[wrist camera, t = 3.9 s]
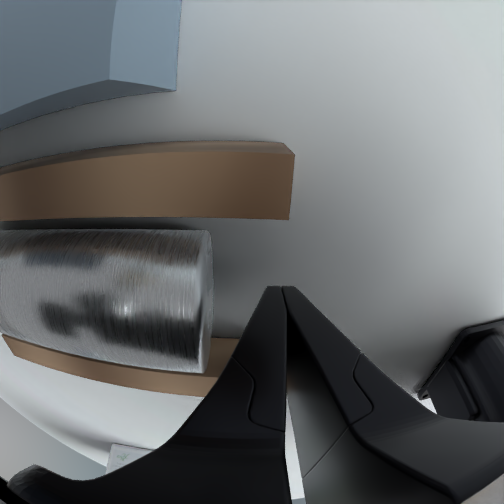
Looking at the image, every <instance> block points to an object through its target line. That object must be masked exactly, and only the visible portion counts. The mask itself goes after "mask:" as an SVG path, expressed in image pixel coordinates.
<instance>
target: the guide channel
mask: <svg viewBox="0 0 504 504" xmlns="http://www.w3.org/2000/svg"><path fill="white" fill-rule="evenodd" d="M294 158H295V154H294V153H293V152H292V151H291V150H290V149H289V148H288V147H287V146H286V145H285V144H284V143H274V142H253V141H177V142H157V143H143V144H131V145H121V146H112V147H103V148H95V149H88V150H81V151H75V152H69V153H63V154H58V155H52V156H47V157H42V158H37V159H33V160H28V161H24V162H20V163H16V164H12V165H8V166H4V167H1V168H0V221H14V220H34V219H58V218H95V217H207V218H247V219H275V220H289V213H290V203H291V192H292V181H293V170H294ZM2 337H3V338H4V340H5V342H6V343H7V345H8V346H9V348H10V349H11V351H12V353H13V354H14V355H15V356H17V357H20V358H22V359H25V360H28V361H31V362H34V363H36V364H39V365H42V366H45V367H49V368H52V369H55V370H58V371H62V372H65V373H69V374H72V375H76V376H80V377H83V378H87V379H92V380H96V381H100V382H105V383H109V384H114V385H119V386H124V387H130V388H135V389H141V390H148V391H154V392H162V393H169V394H178V395H188V396H199V397H205V396H206V395H207V394H208V392H209V391H210V389H211V388H212V387H213V385H214V384H215V382H216V381H217V379H218V378H219V376H220V374H221V373H222V371H223V369H224V368H225V366H226V364H227V362H228V360H229V358H230V357H231V355H232V353H233V351H234V349H235V347H236V345H237V343H238V341H239V340H240V339H233V338H211V346H210V354H209V360H208V364H207V368H206V370H205V372H204V373H191V372H180V371H170V370H161V369H153V368H146V367H139V366H132V365H126V364H120V363H114V362H109V361H103V360H98V359H93V358H89V357H84V356H80V355H75V354H71V353H67V352H63V351H59V350H55V349H51V348H48V347H44V346H41V345H37V344H34V343H31V342H27V341H24V340H21V339H18V338H15V337H12V336H9V335H6V334H4V333H3V334H2Z"/></svg>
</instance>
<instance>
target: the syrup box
mask: <svg viewBox="0 0 504 504" xmlns="http://www.w3.org/2000/svg"><path fill="white" fill-rule="evenodd" d="M152 451H153V450H148V449H142V448H136V447H130V446H125V445H119V444H114V443H113V444H112V446H111V451H110V455H109V460H108V464H107V469H106V473H105V475H106V474H108V473H110V472H112V471H114V470H116V469H119V468H121V467H123V466H125V465H127V464H129V463H131V462H133V461H135V460H137V459H139V458H141V457H142V456H144V455H146V454H148V453H150V452H152Z"/></svg>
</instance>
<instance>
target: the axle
mask: <svg viewBox="0 0 504 504" xmlns="http://www.w3.org/2000/svg"><path fill="white" fill-rule="evenodd" d="M213 297H214V282H213V255H212V241H211V236H210V233H209V231H206V230H151V229H41V230H0V332H1V333H4V334H6V335H9V336H12V337H15V338H18V339H21V340H24V341H27V342H31V343H34V344H37V345H41V346H44V347H48V348H51V349H55V350H59V351H63V352H67V353H71V354H75V355H80V356H84V357H89V358H93V359H98V360H103V361H109V362H114V363H120V364H126V365H132V366H139V367H146V368H153V369H161V370H170V371H180V372H191V373H204V372H205V370H206V368H207V364H208V360H209V354H210V346H211V336H212V322H213Z"/></svg>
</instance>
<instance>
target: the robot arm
mask: <svg viewBox="0 0 504 504" xmlns="http://www.w3.org/2000/svg"><path fill="white" fill-rule="evenodd" d="M286 394H287V397H288V403H289V408H290V414H291V419H292V425H293V431H294V436H295V442H296V448H297V453H298V459H299V465H300V470H301V476H302V482H303V488H304V494H305V500H306V504H504V320H502V321H498V322H494V323H490V324H486V325H481V326H477V327H472V328H467V329H465V330H463V331H462V332H461V333H460V334H459V336H458V337H457V339H456V340H455V342H454V343H453V345H452V347H451V348H450V350H449V351H448V353H447V354H446V356H445V357H444V359H443V360H442V362H441V363H440V365H439V366H438V367H437V369H436V370H435V372H434V373H433V374H432V376H431V377H430V378H429V380H428V381H427V382H426V384H425V385H424V386H423V387H422V389H421V390H420V391H419V393H418V394H417V396H418V398H419V400H424V399H428V398H431V400H432V403H433V405H434V407H435V410H436V412H437V414H435V413H434V412H432V411H430V410H429V409H427V408H426V407H425V406H423V405H422V404H421V403H420V402H418V401H417V400H416V399H415V398H413V397H412V396H411V395H409V394H408V393H407V392H406V391H404V390H403V389H402V388H401V387H399V386H398V385H397V384H396V383H394V382H393V381H392V380H391V379H390V378H389V377H387V376H386V375H385V374H384V373H383V372H382V371H380V370H379V369H378V368H377V367H376V366H375V365H374V364H373V363H372V362H371V361H370V360H369V359H368V358H367V357H366V356H365V355H364V354H363V353H361V351H360V350H359V349H358V348H357V347H356V346H355V345H354V344H353V343H352V342H351V341H350V340H349V339H348V338H347V337H346V336H345V335H344V334H343V333H342V332H340V331H339V330H338V329H337V328H336V327H335V326H334V325H333V324H332V323H331V322H330V321H329V320H328V319H327V318H326V317H325V316H324V315H323V314H322V313H321V312H320V311H319V310H318V309H317V308H316V307H315V306H314V305H313V304H312V303H311V302H310V301H309V300H308V299H307V298H306V297H305V296H304V295H303V294H302V293H301V292H300V291H299V290H298V289H297V288H296V287H294V286H282V287H280V286H267V287H266V289H265V291H264V293H263V295H262V297H261V299H260V301H259V303H258V305H257V307H256V309H255V311H254V313H253V314H252V316H251V318H250V320H249V322H248V324H247V326H246V328H245V330H244V332H243V334H242V336H241V338H240V340H239V341H238V343H237V345H236V347H235V349H234V351H233V353H232V355H231V357H230V358H229V360H228V362H227V364H226V366H225V368H224V369H223V371H222V373H221V374H220V376H219V378H218V379H217V381H216V382H215V384H214V385H213V387H212V388H211V389H210V391H209V392H208V394H207V395H206V396H205V397H204V399H203V400H202V401H201V403H200V404H199V405H198V406H197V408H196V409H195V410H194V411H193V413H192V414H191V415H190V416H189V417H188V419H187V420H186V421H185V422H184V424H183V425H182V426H181V427H180V428H179V430H178V431H177V432H176V433H175V434H174V435H173V436H172V437H171V438H170V439H169V440H168V441H167V442H166V443H165V444H163V445H162V446H160V447H159V448H157V449H155V450H154V451H152V452H150V453H148V454H146V455H144V456H142V457H141V458H139V459H137V460H135V461H133V462H131V463H129V464H127V465H125V466H123V467H121V468H119V469H116V470H114V471H112V472H110V473H108V474H106V475H103V476H101V477H98V478H95V479H91V480H84V481H82V480H72V479H68V478H65V477H63V476H61V475H59V474H56V473H54V472H52V471H50V470H47V469H46V468H43V467H41V466H38V465H32V466H30V467H28V468H26V469H24V470H22V471H20V472H19V473H17V474H16V475H14V476H13V477H12V478H11V479H10V481H9V482H8V481H7V480H5V479H4V478H2V477H1V476H0V504H292V500H291V493H290V486H289V479H288V472H287V465H286V458H285V427H286Z"/></svg>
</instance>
